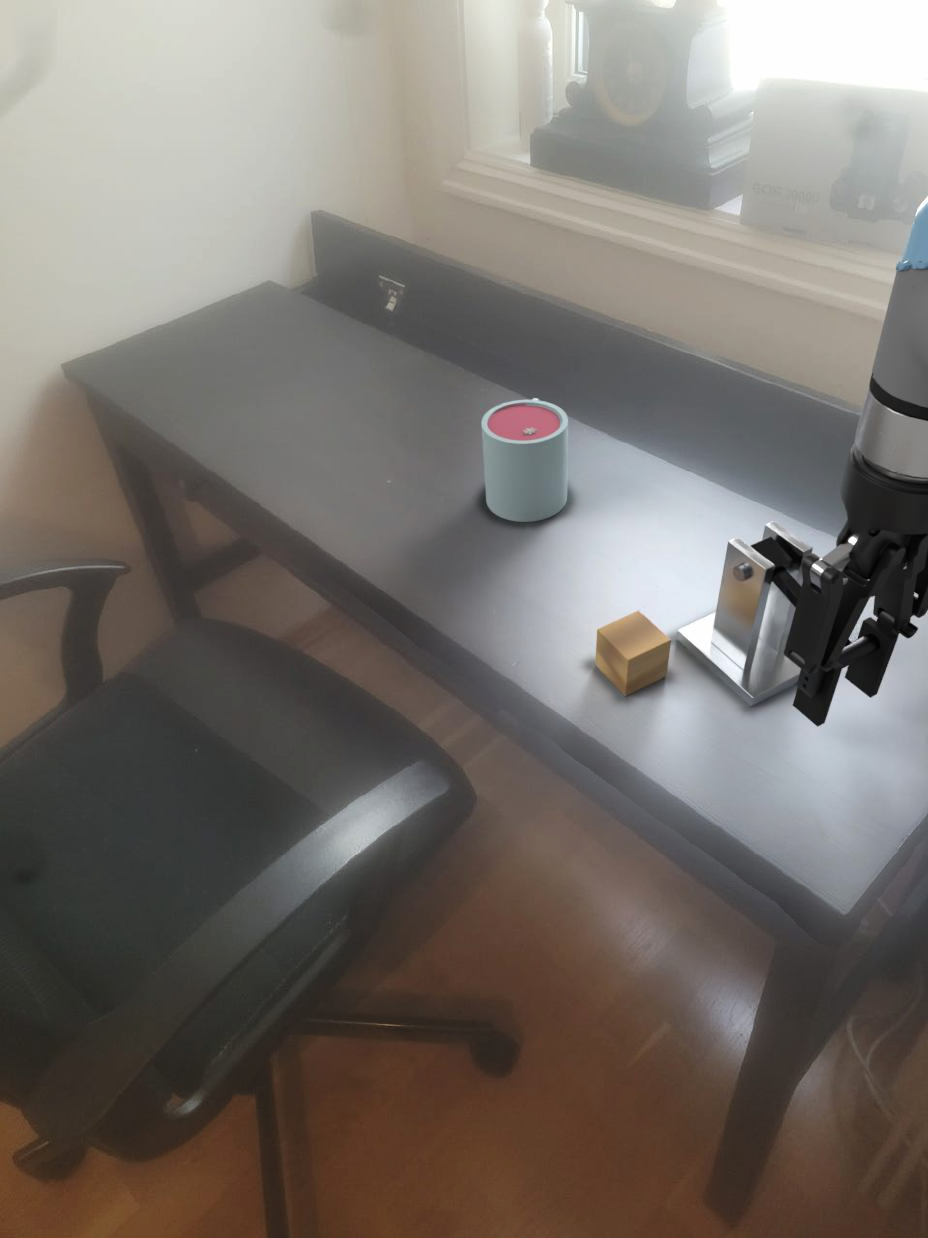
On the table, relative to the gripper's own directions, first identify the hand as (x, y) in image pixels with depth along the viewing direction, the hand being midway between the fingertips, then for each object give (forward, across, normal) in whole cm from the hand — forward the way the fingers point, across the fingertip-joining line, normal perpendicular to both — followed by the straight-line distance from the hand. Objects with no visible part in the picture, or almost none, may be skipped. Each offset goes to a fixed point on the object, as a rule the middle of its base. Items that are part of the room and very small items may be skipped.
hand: (834, 699), depth 70 cm
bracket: (+3, 0, -10) cm, 10 cm away
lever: (-6, 0, -5) cm, 8 cm away
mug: (+3, +2, -44) cm, 44 cm away
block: (+3, +10, -14) cm, 17 cm away
